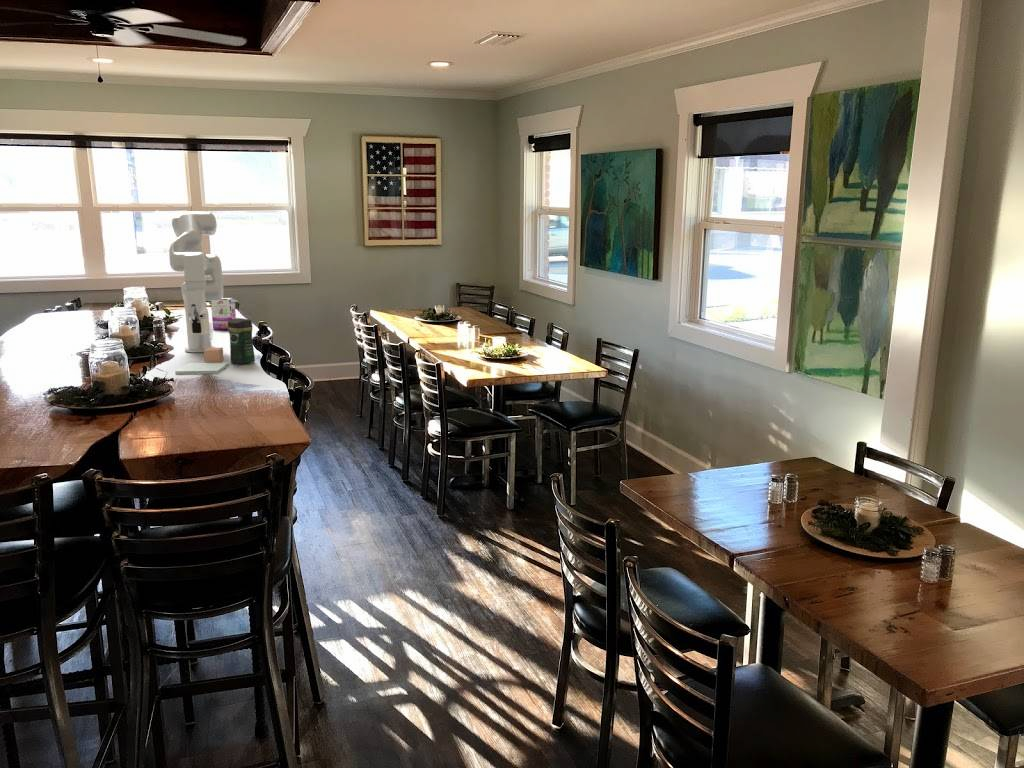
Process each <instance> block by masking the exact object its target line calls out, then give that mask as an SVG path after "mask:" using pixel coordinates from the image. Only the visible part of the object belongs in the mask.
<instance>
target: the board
mask: <svg viewBox="0 0 1024 768" xmlns="http://www.w3.org/2000/svg"><path fill="white" fill-rule="evenodd" d="M228 366H229V362H223V363H205V362H188V363H186V364H184V365H183V366H181V367H180V368H177V370H175V375H212V374H214V375H215V374H217V375H218V374H220V373H221V372H222V371H224V370H225V369H226V368H227V367H228ZM224 368H225V369H224Z"/></svg>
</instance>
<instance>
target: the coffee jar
mask: <svg viewBox="0 0 1024 768" xmlns="http://www.w3.org/2000/svg"><path fill="white" fill-rule="evenodd" d="M227 331H228V333H229V334H228V335H229V347H230V348H229V349H230V351H229V352H230V354H229V355H230V356H229V357H230V362H231V363H232V364H236V363H237V365H245V364H247V363H250V364H252V363H254V362H255V360H256V359H255V351H254V350H255V349H254V343H253V323H252V320H250V319H249V318H248V319H247V318H242V317H236V318H234V319H230V320H229V321H228V330H227ZM251 362H252V363H251Z"/></svg>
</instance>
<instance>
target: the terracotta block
mask: <svg viewBox="0 0 1024 768" xmlns="http://www.w3.org/2000/svg"><path fill="white" fill-rule="evenodd" d="M203 354H204V355H203V356H204V363H222V362H223V361H225V358H224V348H223V347H215V348H207V349H205V350H204V352H203ZM223 363H224V362H223Z"/></svg>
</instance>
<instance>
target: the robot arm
mask: <svg viewBox="0 0 1024 768" xmlns="http://www.w3.org/2000/svg"><path fill="white" fill-rule="evenodd" d="M171 225H172V229H173V231H174V232H173V233H174V234H175V236H176V238H175V239H174V241H172V243H171V244H170V246H169V249H168V251H169V252H168V254H169V264H170V265H169V266H170V268H171V270H172V271H174V272H177V273H179V272H180V273H181V272H183V274H184V275H183V276H184V282H182V284H181V285H180V290H181V296H182V300H183V304H184V305H183V306H184V311H185V312H184V313H185V321H186V322H185V323H186V335H187V345H188V347H187V346H186V347H185V348H184V351H185V352H186V353H204V350H205V349H207V348H216V347H215V346H214V345H212V343H211V341H212V340H211V331H210V329H211V328H210V326H209V333H207V334H199V335H190V334H189V323H188V319H190V318H191V319H192V332H193V333H201V323H200V317H208V319H209V320H210V317H209V310H208V308H207V302H211V301H215V300H221V299H222V298H224V294H225V293H224V281H223V280H224V279H223V269H222V262H221V259H220V257H219V256H218V255H217V254H206V253H205V252H203V249H202V248H203V245H202V243H203V236H213V235H215V234H216V232H217V225H218V223H217V219H216V216H215V214H214V213H212V212H211V211H185V212H183V213H181V215H178V216H177V215H176V216H174V217H172V220H171ZM206 277H210V278H211V279H210V278H208V279H206Z"/></svg>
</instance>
